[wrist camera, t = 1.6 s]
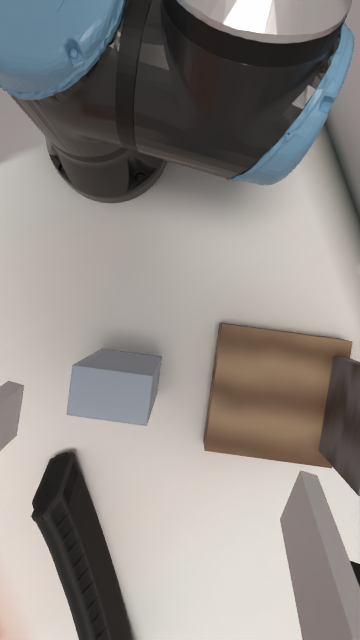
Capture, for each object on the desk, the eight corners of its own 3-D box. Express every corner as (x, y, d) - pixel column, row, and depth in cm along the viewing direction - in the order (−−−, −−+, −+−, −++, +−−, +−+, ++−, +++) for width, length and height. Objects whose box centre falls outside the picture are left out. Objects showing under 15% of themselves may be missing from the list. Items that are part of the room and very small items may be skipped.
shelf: (219, 322, 45) (233, 331, 32) (341, 338, 45) (403, 354, 32) (203, 440, 46) (209, 495, 33) (322, 457, 46) (375, 518, 33)
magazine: (15, 468, 38) (67, 822, 30) (43, 460, 38) (102, 813, 30) (76, 448, 54) (119, 673, 47) (96, 442, 54) (142, 667, 47)
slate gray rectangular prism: (102, 348, 46) (72, 365, 34) (161, 356, 46) (152, 376, 34) (97, 385, 46) (66, 414, 34) (157, 393, 46) (146, 425, 34)
